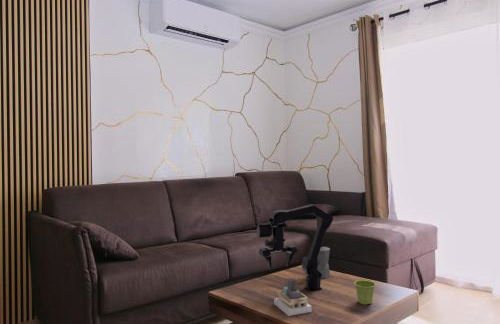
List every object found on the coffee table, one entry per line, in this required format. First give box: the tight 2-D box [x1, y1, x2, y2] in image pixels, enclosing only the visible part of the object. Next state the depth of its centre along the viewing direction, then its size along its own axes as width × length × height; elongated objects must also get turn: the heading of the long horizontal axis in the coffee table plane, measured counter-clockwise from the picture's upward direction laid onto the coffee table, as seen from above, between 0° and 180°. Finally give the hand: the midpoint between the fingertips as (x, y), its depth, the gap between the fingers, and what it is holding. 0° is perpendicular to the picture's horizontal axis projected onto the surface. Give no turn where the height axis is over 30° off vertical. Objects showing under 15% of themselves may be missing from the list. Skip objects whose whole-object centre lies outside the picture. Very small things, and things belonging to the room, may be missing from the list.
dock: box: [273, 297, 313, 317], centre depth 179 cm, size 11×15×2 cm
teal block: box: [283, 286, 288, 296], centre depth 182 cm, size 4×3×3 cm
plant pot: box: [354, 279, 377, 305], centre depth 184 cm, size 9×9×9 cm
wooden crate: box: [276, 277, 310, 309], centre depth 179 cm, size 9×13×10 cm
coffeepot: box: [317, 243, 331, 279], centre depth 224 cm, size 15×9×18 cm, turn 147°
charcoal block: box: [290, 289, 302, 300], centre depth 176 cm, size 4×3×3 cm
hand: (278, 268), depth 199 cm, fingers open, 9 cm apart
